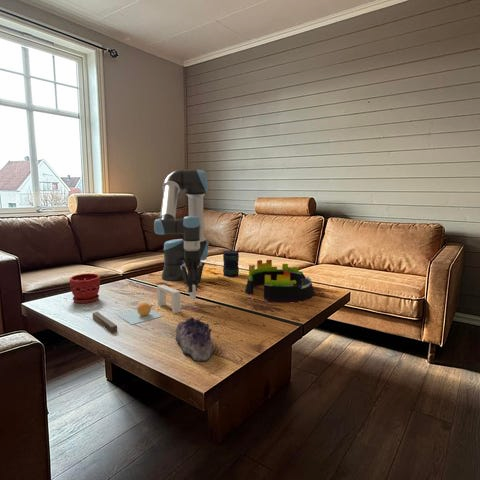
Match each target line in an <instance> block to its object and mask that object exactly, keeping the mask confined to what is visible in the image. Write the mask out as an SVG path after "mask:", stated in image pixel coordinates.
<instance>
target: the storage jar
mask: <svg viewBox="0 0 480 480" xmlns="http://www.w3.org/2000/svg"><path fill="white" fill-rule="evenodd" d="M239 252H240V251H238V250H224V251H223V252H222V253H223V255H222V258H223V259H222V260H223V267H222V268H223V269H222V271H223V277H226V278H235V277H236V278H237V277H238V276H239V270H240V269H239V260H240V259H239V258H240V255H239Z"/></svg>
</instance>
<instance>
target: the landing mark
mask: <svg viewBox="0 0 480 480" xmlns="http://www.w3.org/2000/svg"><path fill="white" fill-rule="evenodd" d="M117 316H118V317H120V318H121V319H122V320H124V321H125V322H127V323H129V324H130V325H131V326H132V325H136V324H139V323H143V322H147V321H150V320H154V319H158V318H162V317H163V315H162V314H161V313H158V312H156V311H155V310H153V309H151V311H150V313H149V314H148V315H146V316H141V315H140V314H139V313H138V311H137V309H136V310H131V311H128V312H124V313H119V314H117Z"/></svg>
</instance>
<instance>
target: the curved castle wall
mask: <svg viewBox="0 0 480 480" xmlns="http://www.w3.org/2000/svg"><path fill="white" fill-rule="evenodd" d="M272 260H273V259H266V260H265V262H263V260H262V259H259V260H257V262H256V265H255V264H252V265H251V264H249V265H248V278H247V282H246V285H245V290H244V292H245V294H247V295H249V296H253V295H254V288H257V287H259V286H263V300H264V301H266V302H267V303H277V304H283V303H284V304H291V303H290V302H294V303H300V302H299V301H301V302H305V301H304V300H306V301H308V300H307V299H309V300H310V298H311V299H313V298H314V297H315V296H314V295H316V293H315V290H314V286H313V283H312V279H311V277H309V276H306V275H305V274H304V273H303V271H300V270H299V266H292V267H291V266H290V267H289V264H288V263H282V268H281V269H278V266H275V265H272V264H273V261H272ZM313 296H314V297H313ZM312 297H313V298H312Z"/></svg>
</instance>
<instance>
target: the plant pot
mask: <svg viewBox="0 0 480 480" xmlns="http://www.w3.org/2000/svg"><path fill="white" fill-rule="evenodd" d="M69 287H70V289H71V293H72V295H73V297H72V301H73V302H75V303H77V304H88V303H93V302H95V301H97V300H98V299H99V298H100V294H99V291H100V287H101V276H100V275H99V274H97V273H80V274H76V275H73V276H71V277H69Z"/></svg>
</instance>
